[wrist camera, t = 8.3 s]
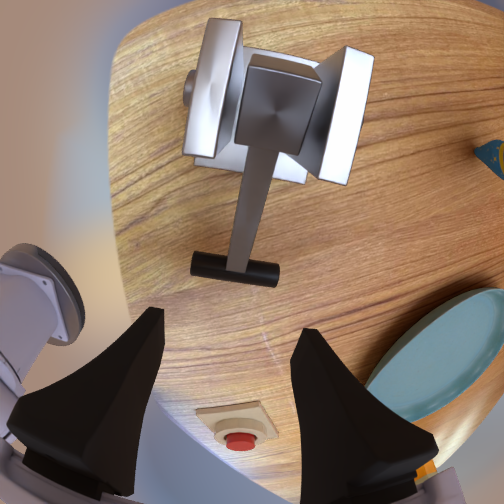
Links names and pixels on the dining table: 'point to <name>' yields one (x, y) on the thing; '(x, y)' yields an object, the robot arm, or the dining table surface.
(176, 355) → the dining table surface
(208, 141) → the bracket
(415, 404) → the teal plate
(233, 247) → the lever
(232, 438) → the button
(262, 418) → the button block
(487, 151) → the ornament
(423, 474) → the orange juice
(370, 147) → the dining table surface
